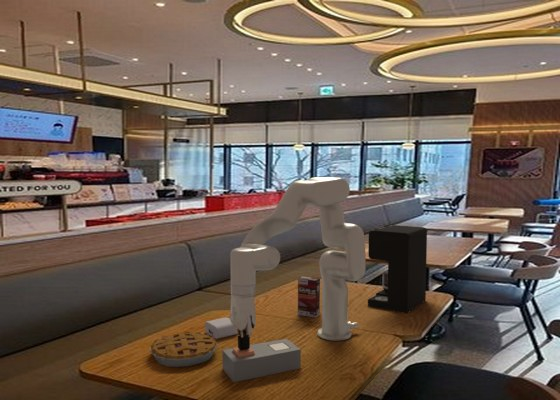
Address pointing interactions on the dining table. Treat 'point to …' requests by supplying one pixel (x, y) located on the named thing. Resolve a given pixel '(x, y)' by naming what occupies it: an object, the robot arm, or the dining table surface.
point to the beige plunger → (279, 346)
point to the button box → (261, 361)
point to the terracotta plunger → (243, 352)
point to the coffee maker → (400, 266)
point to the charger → (220, 328)
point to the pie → (183, 349)
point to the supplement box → (308, 296)
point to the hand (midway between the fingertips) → (243, 348)
